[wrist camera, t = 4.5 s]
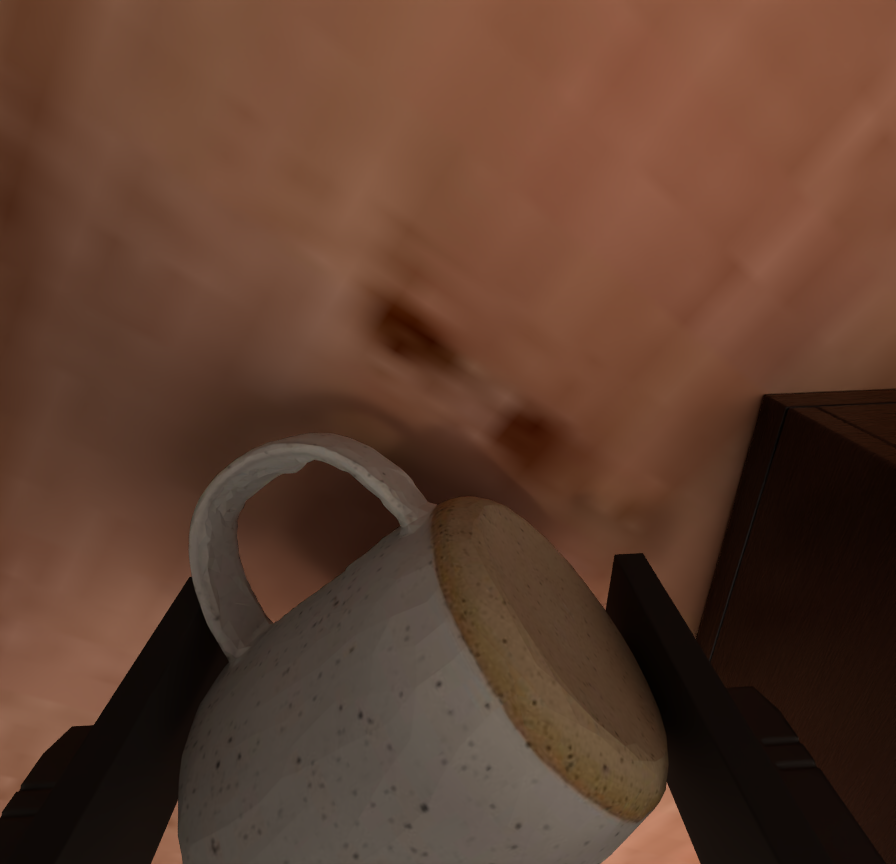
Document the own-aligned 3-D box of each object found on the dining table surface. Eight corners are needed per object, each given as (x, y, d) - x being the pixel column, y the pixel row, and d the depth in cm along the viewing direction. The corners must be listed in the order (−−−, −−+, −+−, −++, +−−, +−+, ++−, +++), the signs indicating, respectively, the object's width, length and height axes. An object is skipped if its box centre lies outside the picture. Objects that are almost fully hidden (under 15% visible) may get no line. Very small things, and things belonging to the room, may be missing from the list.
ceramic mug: (613, 575, 14) (789, 928, 7) (427, 703, 16) (425, 1063, 9) (343, 334, 11) (178, 564, 4) (157, 540, 13) (-161, 918, 6)
